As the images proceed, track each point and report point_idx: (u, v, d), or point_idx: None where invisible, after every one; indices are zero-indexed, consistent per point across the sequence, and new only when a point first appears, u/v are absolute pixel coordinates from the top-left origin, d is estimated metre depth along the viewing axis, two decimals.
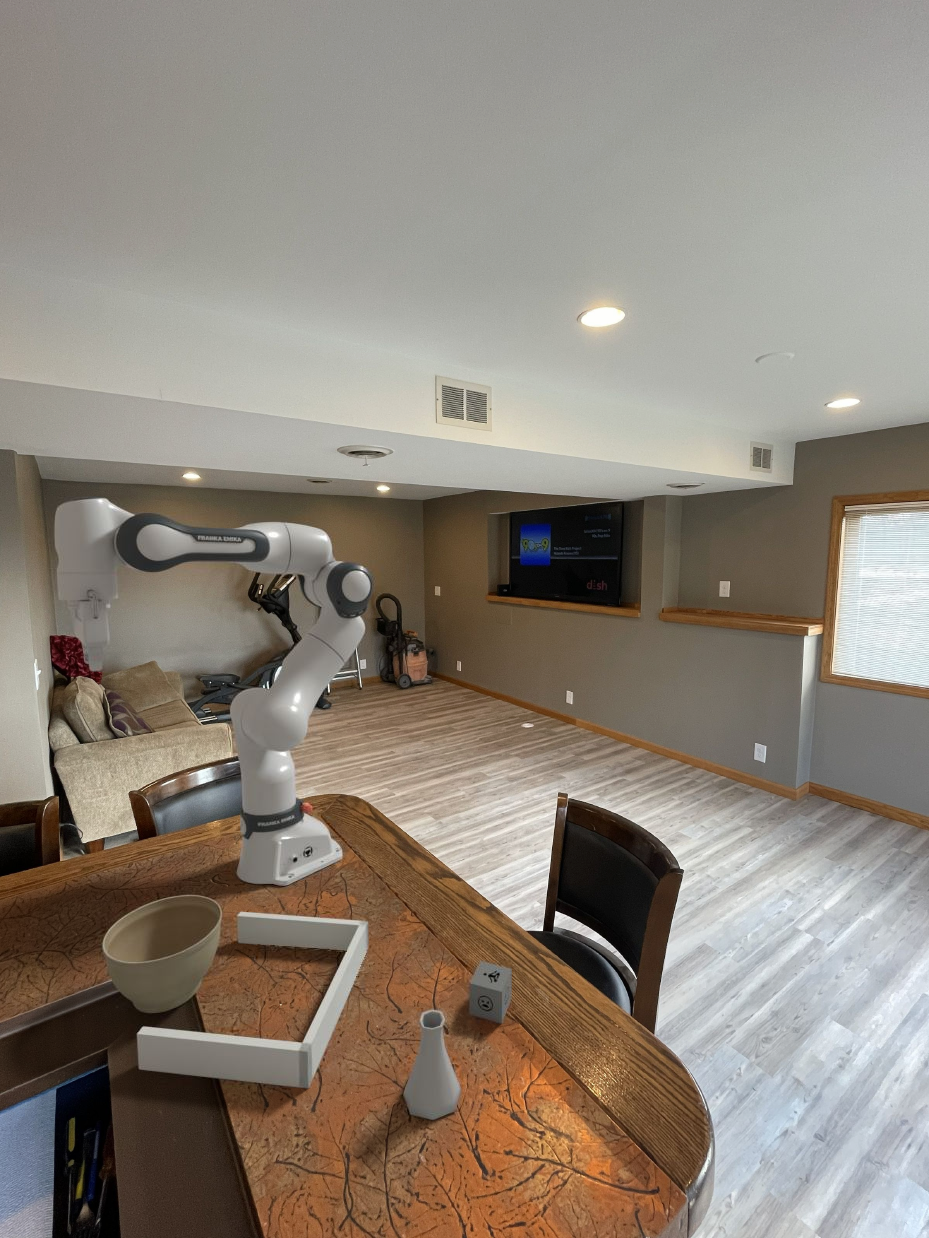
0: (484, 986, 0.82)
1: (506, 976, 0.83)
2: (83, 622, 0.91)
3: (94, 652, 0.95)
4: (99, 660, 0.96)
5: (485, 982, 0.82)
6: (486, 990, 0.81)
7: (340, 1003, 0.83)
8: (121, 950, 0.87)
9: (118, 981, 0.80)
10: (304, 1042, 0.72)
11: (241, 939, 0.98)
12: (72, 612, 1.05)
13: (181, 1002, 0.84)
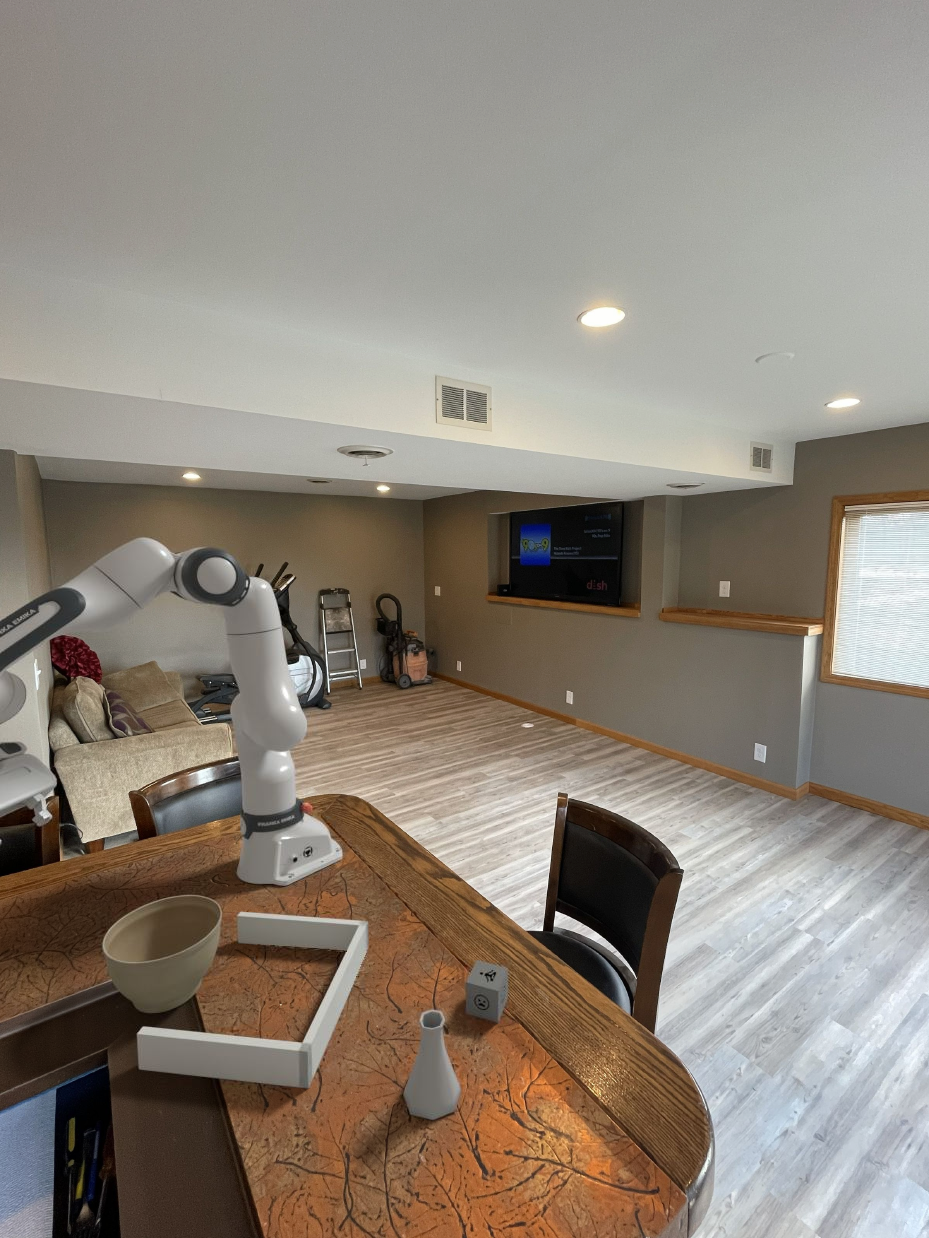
0: (480, 985, 0.82)
1: (502, 975, 0.84)
2: None
3: None
4: None
5: (481, 981, 0.82)
6: (482, 989, 0.81)
7: (340, 1003, 0.83)
8: (121, 950, 0.87)
9: (118, 981, 0.80)
10: (304, 1042, 0.72)
11: (241, 939, 0.98)
12: None
13: (181, 1002, 0.84)
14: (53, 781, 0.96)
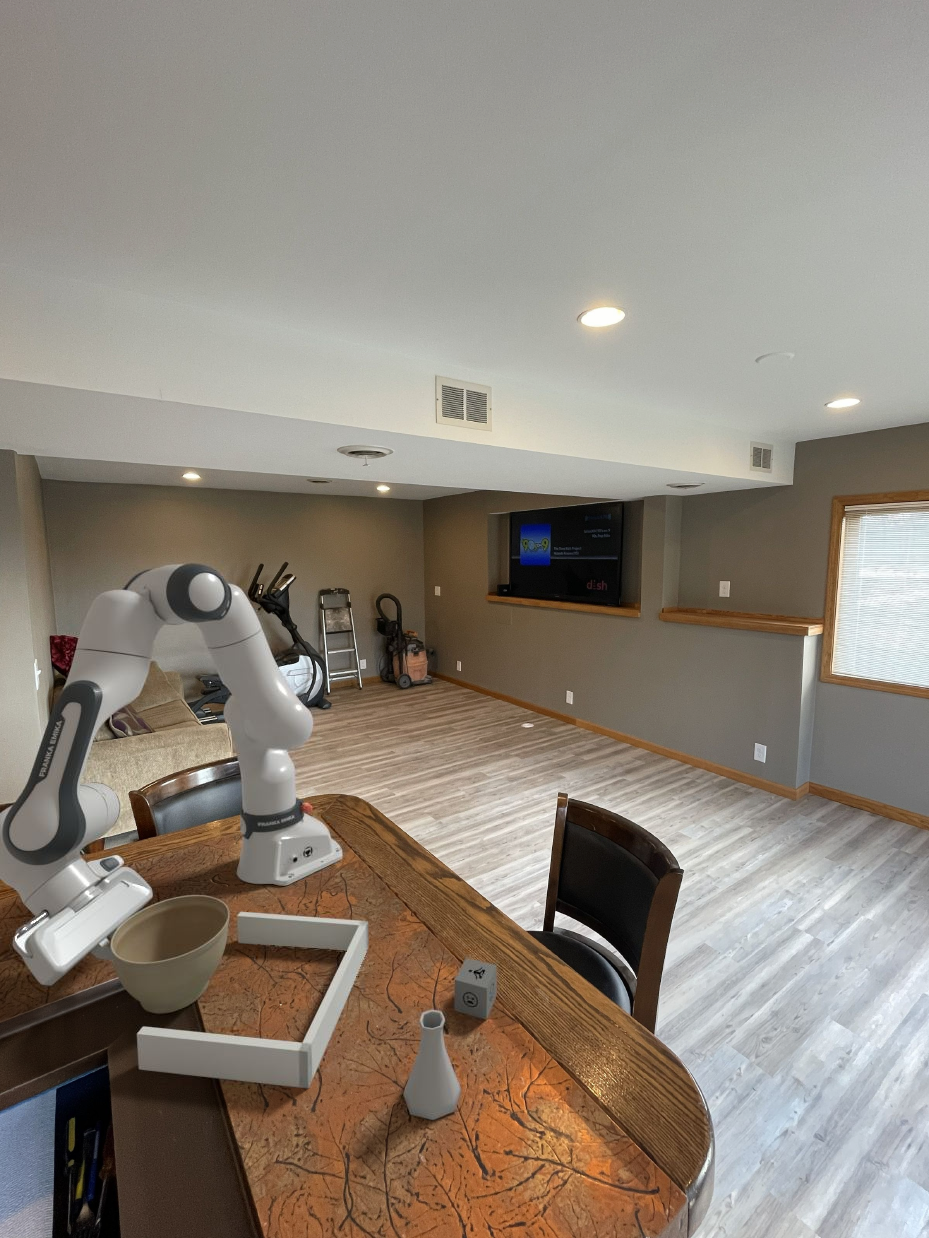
0: (469, 982, 0.82)
1: (491, 973, 0.84)
2: None
3: (100, 954, 0.85)
4: None
5: (470, 979, 0.83)
6: (471, 986, 0.82)
7: (340, 1003, 0.83)
8: (128, 951, 0.87)
9: (127, 981, 0.79)
10: (304, 1042, 0.72)
11: (241, 939, 0.98)
12: None
13: (189, 1002, 0.84)
14: (149, 893, 0.96)
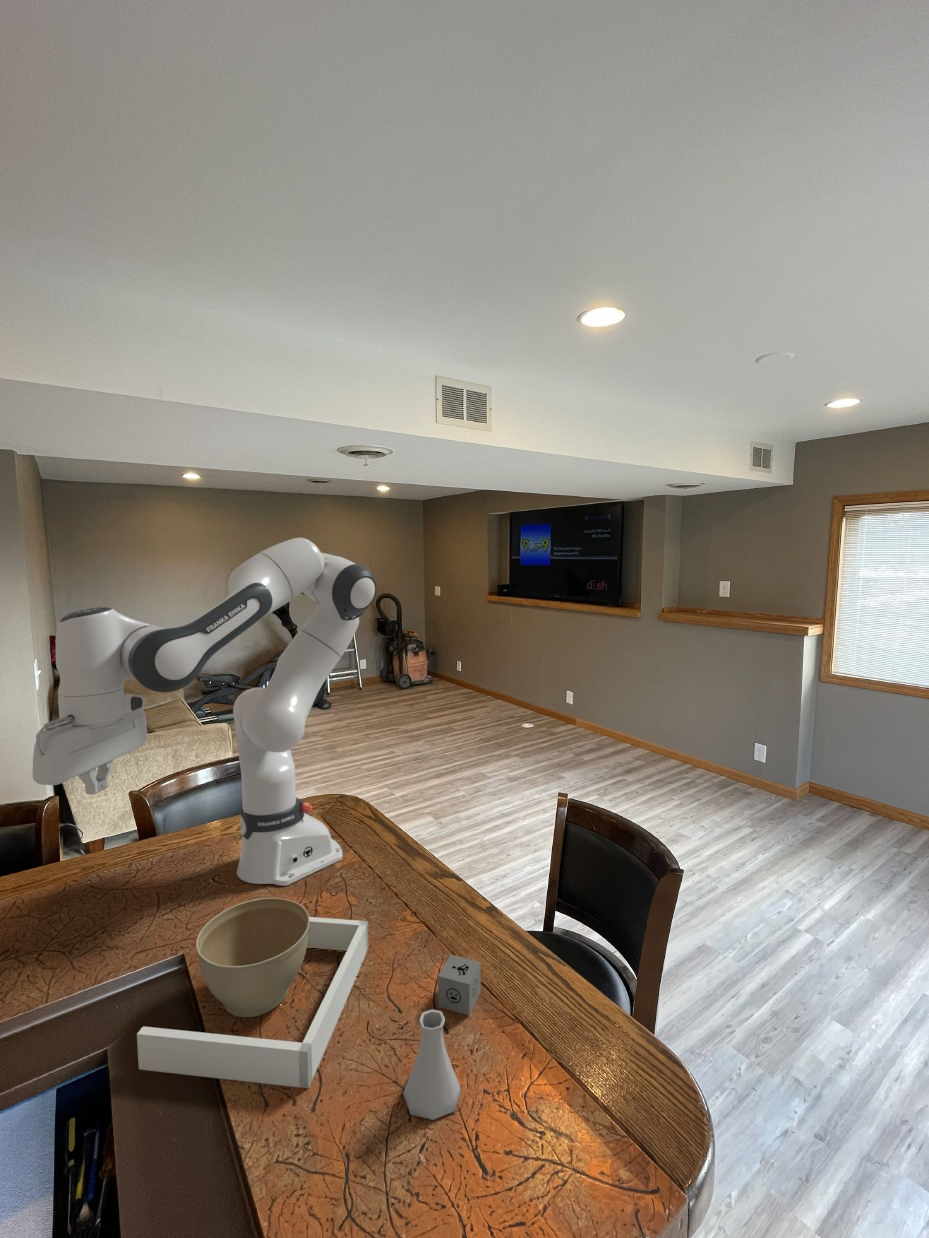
0: (452, 979, 0.83)
1: (475, 969, 0.85)
2: None
3: (83, 776, 0.89)
4: (92, 784, 0.90)
5: (453, 975, 0.84)
6: (454, 983, 0.83)
7: (340, 1003, 0.83)
8: (206, 959, 0.85)
9: (223, 987, 0.78)
10: (304, 1042, 0.72)
11: None
12: None
13: (278, 1003, 0.84)
14: (143, 743, 1.00)
